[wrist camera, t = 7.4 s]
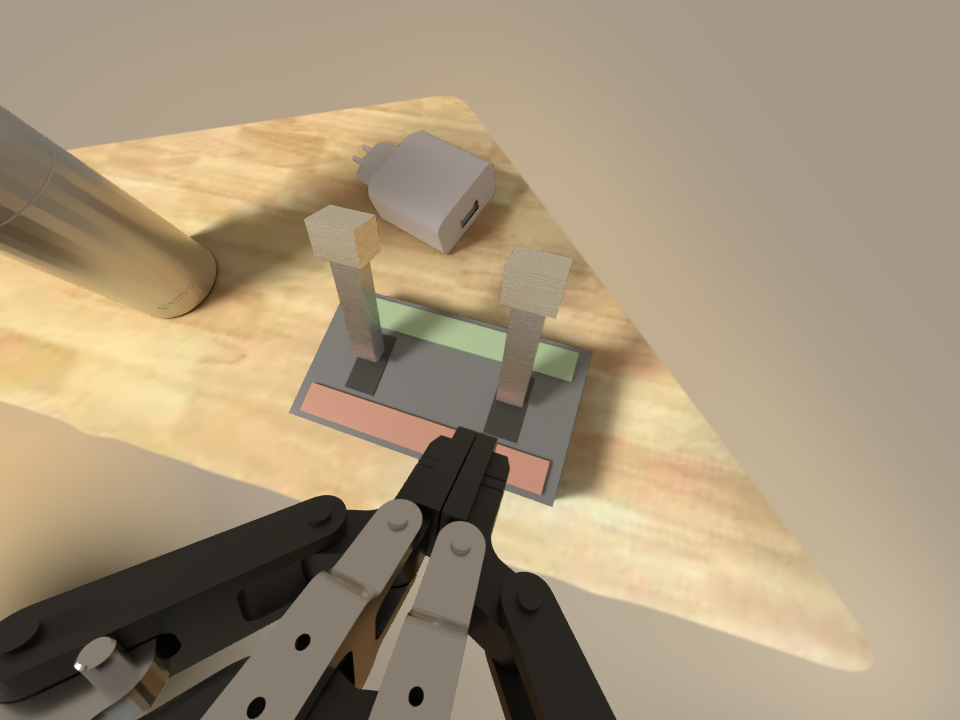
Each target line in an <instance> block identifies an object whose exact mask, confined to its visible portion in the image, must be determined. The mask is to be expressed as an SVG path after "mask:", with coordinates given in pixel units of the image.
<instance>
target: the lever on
mask: <svg viewBox="0 0 960 720" xmlns="http://www.w3.org/2000/svg"><path fill="white" fill-rule="evenodd" d="M304 221H305V225H306V228H307V232H308V235H309V239H310V242H311V246H312V249H313V253H314V256H315V257H316V258H320V259H323V260H327V261H330V265H331V269H332V273H333V276H334V280H335V284H336V288H337V292H338V296H339V300H340V304H341V308H342V311H343V315H344V319H345V323H346V327H347V331H348V335H349V339H350V343H351V346H352V350H353V354H354V356H356V357H360V358H363V359H366V360H369V361H372V362H377V361H378V359H379V358H380V357H381V356H382V354H383V353H384V352H385V349H384V343H383V337H382V331H381V325H380V319H379V313H378V307H377V301H376V295H375V289H374V283H373V277H372V271H371V265H370V260H371V259H373V258H374V257H375V256H376V255H377V254H378V253H380V252H381V250H380V243H379V236H378V228H377V221H376V215H374V214H370V213H365V212H361V211H356V210H352V209H347V208H343V207H338V206H334V205H328V206H326V207H324V208H323V209H321V210H319V211H317V212H316V213H314V214H312V215H310V216H309V217H307V218H305V219H304Z"/></svg>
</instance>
